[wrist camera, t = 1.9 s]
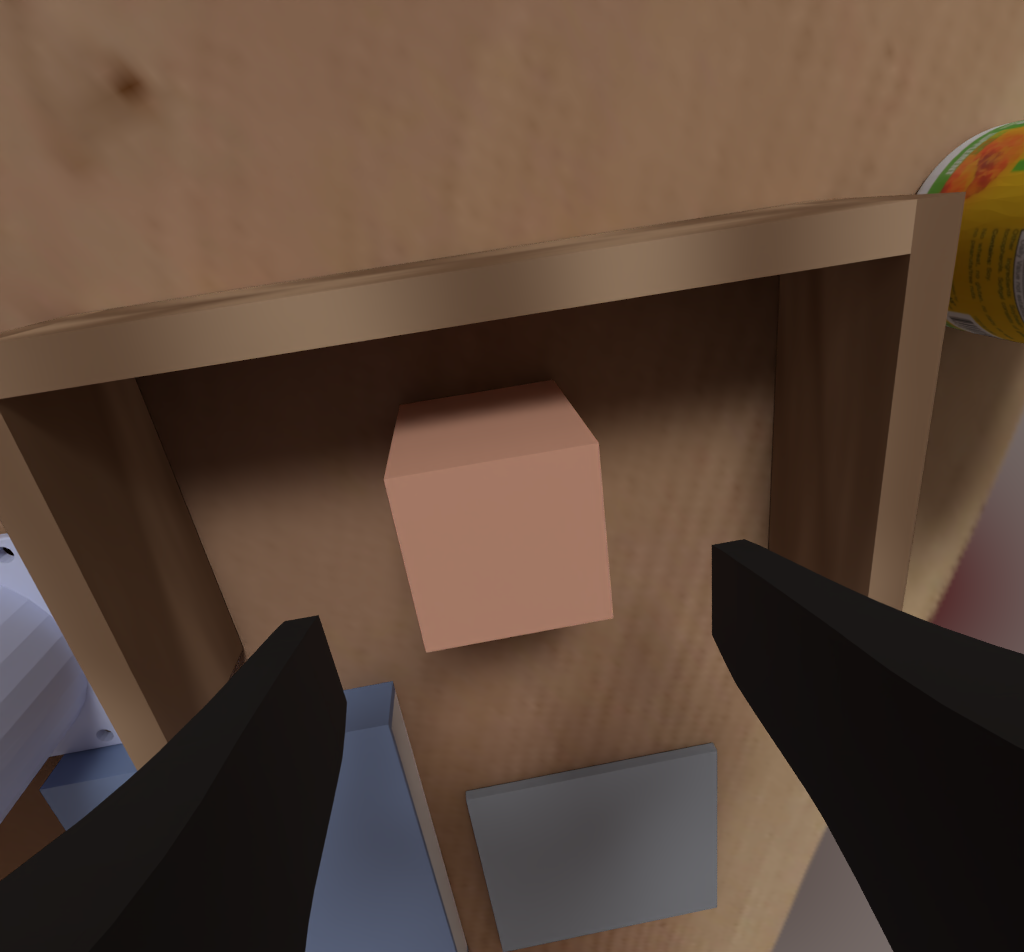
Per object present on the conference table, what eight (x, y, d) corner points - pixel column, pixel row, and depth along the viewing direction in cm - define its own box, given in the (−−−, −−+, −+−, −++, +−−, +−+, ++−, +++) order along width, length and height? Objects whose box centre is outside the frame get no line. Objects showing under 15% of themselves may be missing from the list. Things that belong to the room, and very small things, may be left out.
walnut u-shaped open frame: (212, 653, 20) (144, 783, 15) (67, 315, 15) (-90, 355, 11) (796, 547, 21) (897, 639, 16) (818, 199, 16) (966, 192, 12)
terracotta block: (429, 539, 19) (425, 652, 14) (400, 404, 17) (384, 479, 12) (568, 514, 19) (613, 618, 14) (552, 379, 18) (598, 442, 12)
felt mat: (502, 942, 28) (503, 952, 27) (465, 791, 24) (466, 800, 23) (713, 898, 28) (717, 907, 28) (712, 742, 24) (717, 750, 24)
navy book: (467, 936, 28) (470, 1000, 26) (231, 984, 28) (211, 1054, 25) (393, 670, 22) (388, 724, 19) (82, 728, 21) (39, 790, 19)
